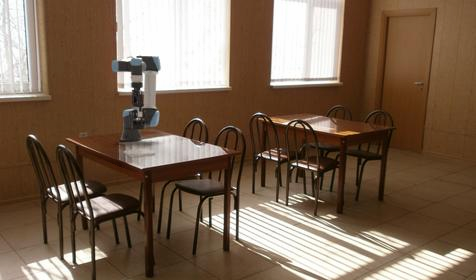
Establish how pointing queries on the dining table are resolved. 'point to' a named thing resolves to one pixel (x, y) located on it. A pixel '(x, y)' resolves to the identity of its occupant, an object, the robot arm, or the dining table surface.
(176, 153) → the dining table surface
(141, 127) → the french press
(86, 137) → the dining table surface
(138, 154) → the ceramic tile
